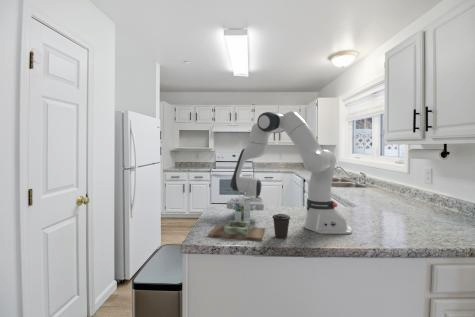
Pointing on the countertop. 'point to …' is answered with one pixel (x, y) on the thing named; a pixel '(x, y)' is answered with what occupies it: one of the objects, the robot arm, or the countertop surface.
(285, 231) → the coffee cup
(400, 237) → the countertop surface
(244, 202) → the syrup box
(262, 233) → the collar stand
